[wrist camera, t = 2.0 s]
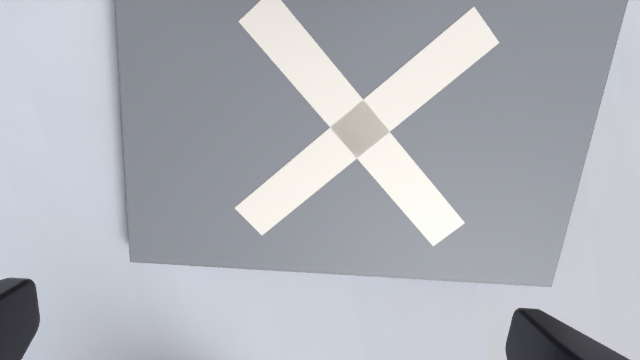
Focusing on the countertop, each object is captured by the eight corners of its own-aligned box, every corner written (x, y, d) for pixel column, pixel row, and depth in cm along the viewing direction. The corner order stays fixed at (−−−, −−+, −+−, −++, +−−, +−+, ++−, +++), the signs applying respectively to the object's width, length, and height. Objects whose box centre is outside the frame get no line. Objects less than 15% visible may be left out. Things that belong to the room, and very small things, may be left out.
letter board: (137, 251, 23) (129, 262, 22) (120, -71, 18) (110, -76, 17) (541, 276, 24) (551, 287, 23) (619, -27, 19) (636, -30, 18)
